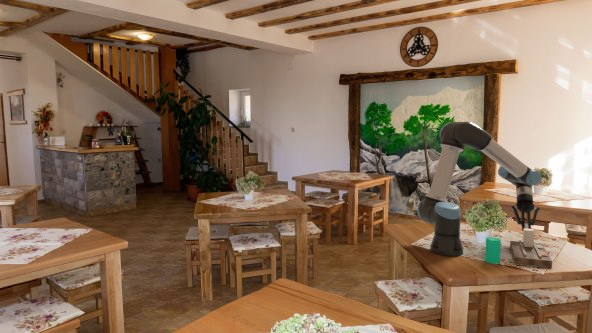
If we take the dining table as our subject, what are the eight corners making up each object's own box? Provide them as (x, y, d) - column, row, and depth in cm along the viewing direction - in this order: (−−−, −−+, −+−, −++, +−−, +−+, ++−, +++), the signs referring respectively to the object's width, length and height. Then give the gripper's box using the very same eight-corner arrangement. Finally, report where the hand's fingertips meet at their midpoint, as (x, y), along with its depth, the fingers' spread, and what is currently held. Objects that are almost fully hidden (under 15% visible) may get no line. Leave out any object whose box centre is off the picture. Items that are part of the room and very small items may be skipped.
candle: (482, 260, 187) (483, 234, 186) (491, 258, 190) (492, 233, 189) (493, 264, 182) (494, 237, 181) (502, 262, 184) (503, 236, 183)
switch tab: (523, 246, 196) (524, 230, 196) (522, 244, 200) (523, 228, 199) (533, 247, 195) (534, 231, 194) (532, 245, 198) (533, 229, 198)
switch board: (514, 263, 182) (515, 255, 182) (510, 246, 208) (510, 238, 207) (551, 267, 177) (552, 258, 176) (542, 249, 202) (542, 241, 202)
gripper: (537, 202, 216) (541, 241, 203) (510, 200, 221) (511, 238, 208) (539, 193, 211) (543, 233, 197) (511, 192, 216) (512, 231, 202)
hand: (526, 236), depth 203 cm, fingers closed
